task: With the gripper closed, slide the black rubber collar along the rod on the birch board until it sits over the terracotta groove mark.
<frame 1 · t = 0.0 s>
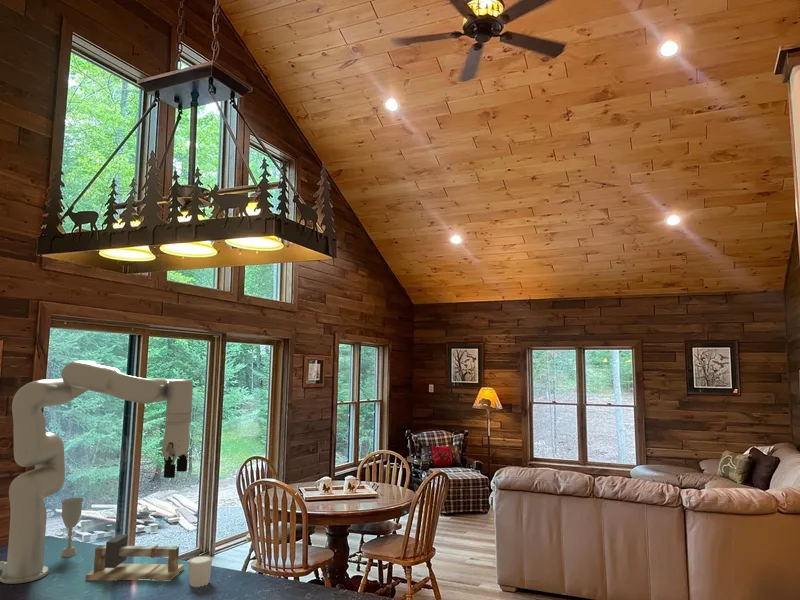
hand: (175, 474, 179), 31 cm above the countertop, tool pointing down, fingers open, 9 cm apart
cream short cylinder: (199, 584, 172), on the countertop
chalice: (68, 555, 196), on the countertop
pipe rig: (135, 574, 178), on the countertop
collar: (116, 550, 179), point 7 cm above the countertop, slide at 0.0 cm
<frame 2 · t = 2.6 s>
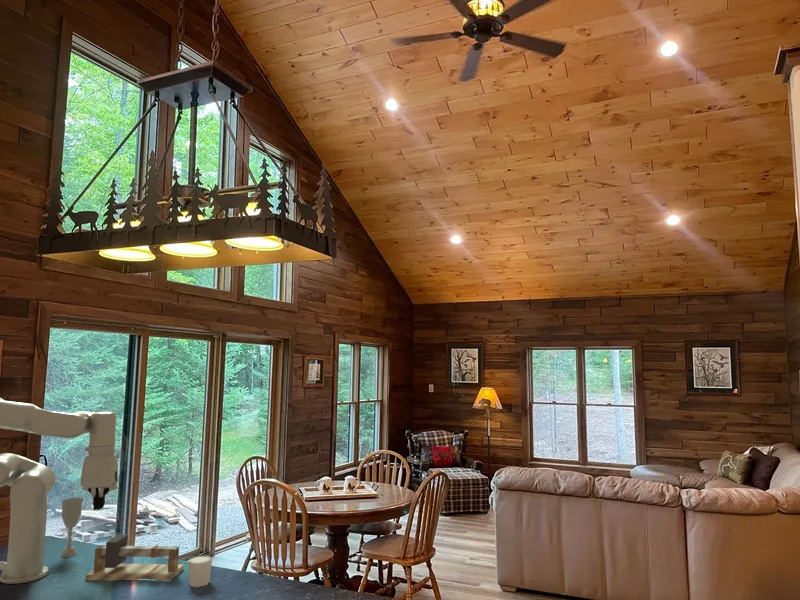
hand: (98, 508, 184), 19 cm above the countertop, tool pointing down, fingers closed
nothing on the countertop moved.
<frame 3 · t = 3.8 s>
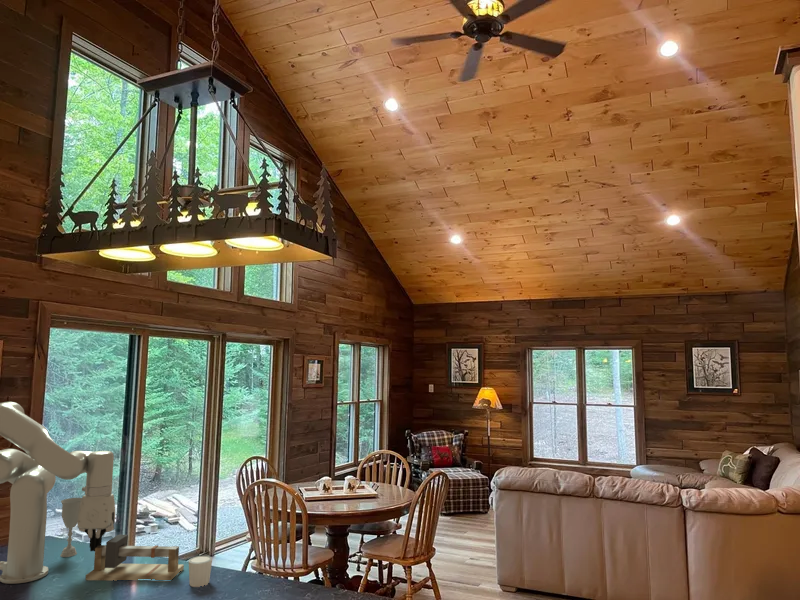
hand: (95, 549, 182), 6 cm above the countertop, tool pointing down, fingers closed
nothing on the countertop moved.
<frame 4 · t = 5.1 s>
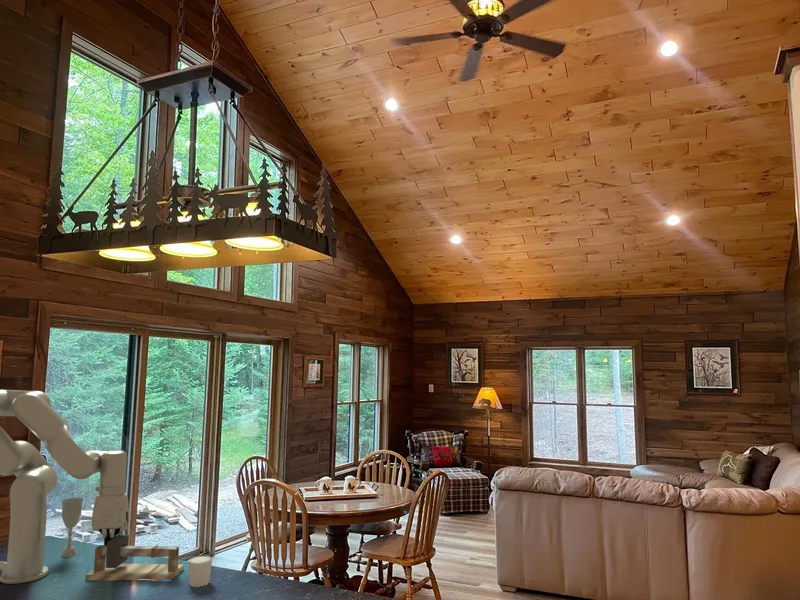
hand: (109, 549, 182), 6 cm above the countertop, tool pointing down, fingers closed
collar: (117, 550, 179), point 7 cm above the countertop, slide at 0.3 cm, touching gripper
everything else where it was.
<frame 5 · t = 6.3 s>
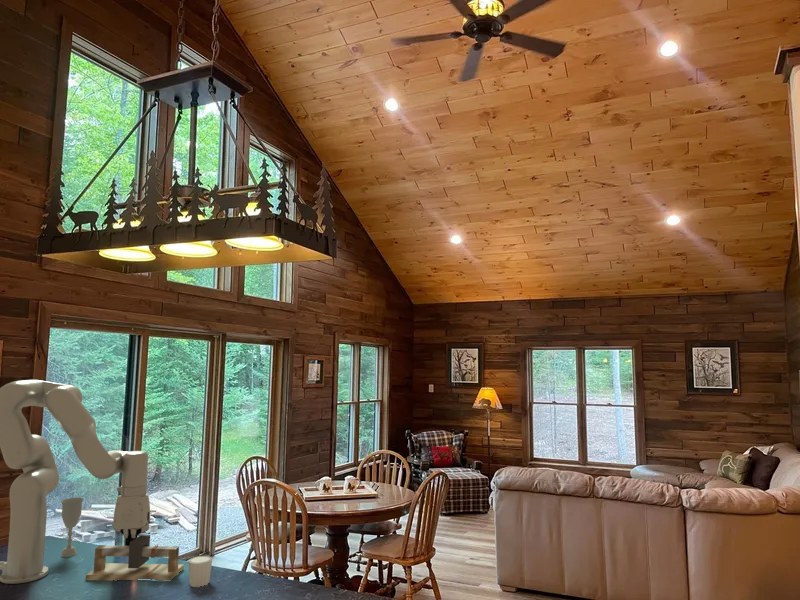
hand: (130, 549, 182), 6 cm above the countertop, tool pointing down, fingers closed
collar: (139, 551, 179), point 7 cm above the countertop, slide at 7.2 cm, touching gripper
everything else where it was.
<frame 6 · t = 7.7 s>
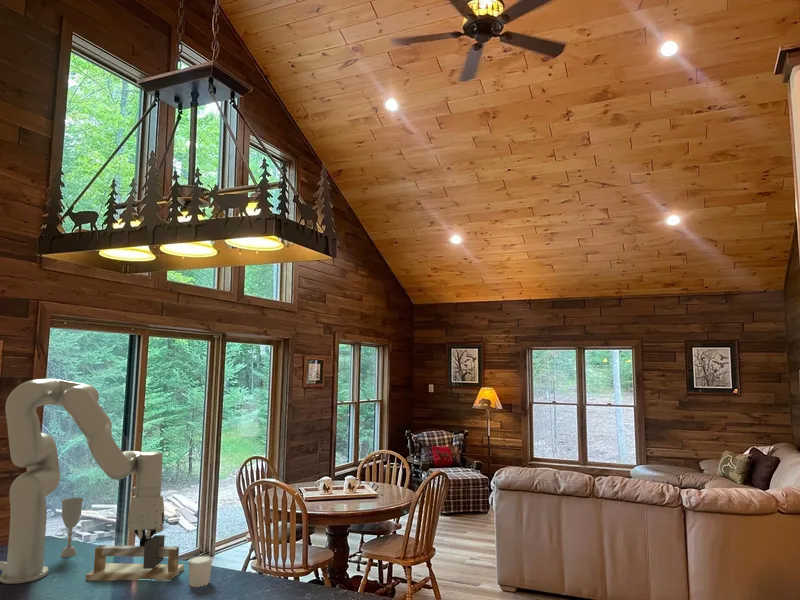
hand: (145, 550, 182), 6 cm above the countertop, tool pointing down, fingers closed
collar: (154, 551, 179), point 7 cm above the countertop, slide at 11.8 cm, touching gripper
everything else where it was.
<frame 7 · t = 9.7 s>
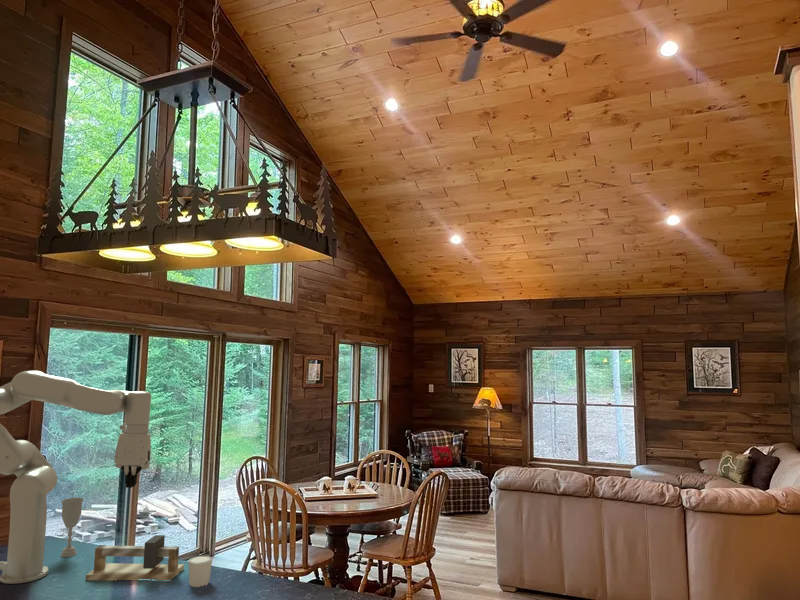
hand: (130, 486, 186), 26 cm above the countertop, tool pointing down, fingers closed
collar: (154, 551, 179), point 7 cm above the countertop, slide at 11.9 cm
everything else where it was.
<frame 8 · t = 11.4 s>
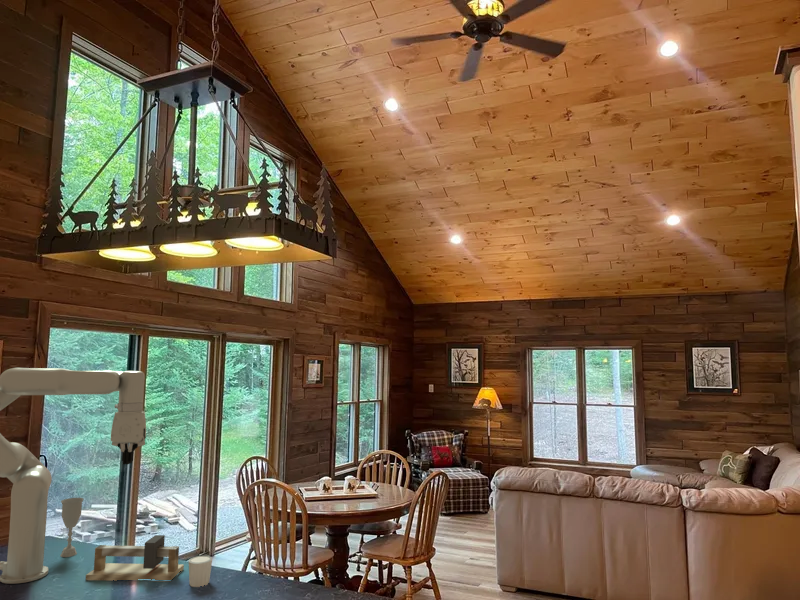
hand: (127, 463, 191), 32 cm above the countertop, tool pointing down, fingers closed
nothing on the countertop moved.
at the end: collar slide at 11.9 cm; cream short cylinder moved 0.2 cm from its start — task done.
